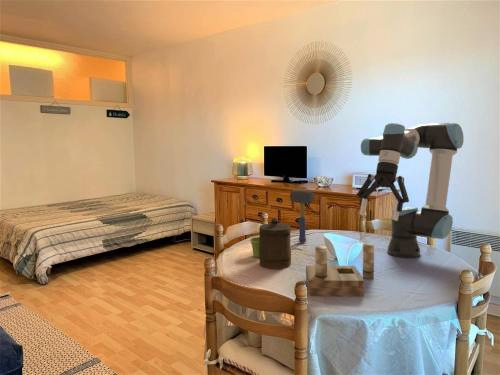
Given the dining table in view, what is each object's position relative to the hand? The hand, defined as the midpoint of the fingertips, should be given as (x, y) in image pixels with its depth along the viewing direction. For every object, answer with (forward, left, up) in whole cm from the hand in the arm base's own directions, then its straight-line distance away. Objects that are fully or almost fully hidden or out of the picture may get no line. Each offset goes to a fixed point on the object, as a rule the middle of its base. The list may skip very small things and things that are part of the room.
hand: (377, 217), depth 141 cm
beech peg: (+1, -11, -28) cm, 30 cm away
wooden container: (+40, -28, -28) cm, 56 cm away
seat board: (+17, 0, -28) cm, 32 cm away
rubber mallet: (+25, -64, -28) cm, 74 cm away
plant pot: (+48, -40, -28) cm, 68 cm away
